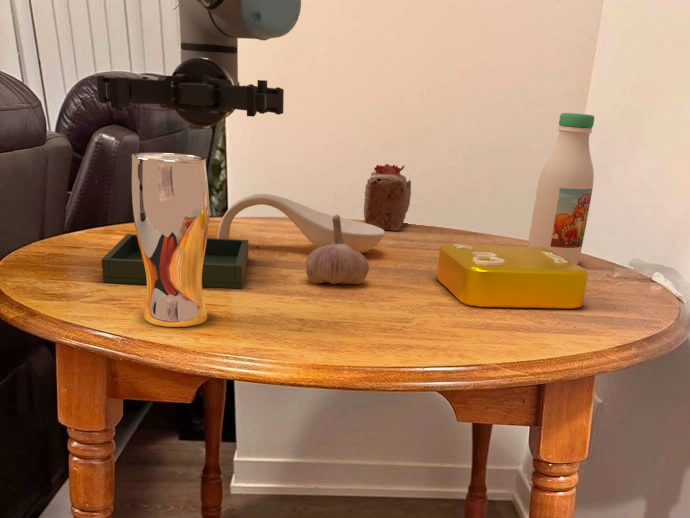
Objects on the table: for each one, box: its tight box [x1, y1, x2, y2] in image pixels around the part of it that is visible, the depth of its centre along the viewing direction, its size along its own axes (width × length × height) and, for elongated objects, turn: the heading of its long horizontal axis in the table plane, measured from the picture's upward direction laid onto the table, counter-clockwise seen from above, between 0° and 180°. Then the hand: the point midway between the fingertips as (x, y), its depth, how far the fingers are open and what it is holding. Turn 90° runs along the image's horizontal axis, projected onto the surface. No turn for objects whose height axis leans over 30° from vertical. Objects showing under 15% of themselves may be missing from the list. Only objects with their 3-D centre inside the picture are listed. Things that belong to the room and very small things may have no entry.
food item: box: [363, 163, 412, 232], centre depth 133 cm, size 14×8×10 cm, turn 177°
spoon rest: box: [216, 193, 386, 254], centre depth 110 cm, size 24×12×7 cm, turn 93°
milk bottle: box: [527, 112, 595, 265], centre depth 110 cm, size 8×8×20 cm
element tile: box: [436, 243, 589, 310], centre depth 95 cm, size 15×15×5 cm
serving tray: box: [101, 233, 249, 290], centre depth 95 cm, size 16×16×3 cm
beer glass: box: [131, 152, 210, 328], centre depth 74 cm, size 7×7×15 cm
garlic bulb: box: [305, 214, 370, 285], centre depth 93 cm, size 8×7×8 cm
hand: (182, 97), depth 79 cm, fingers open, 13 cm apart
